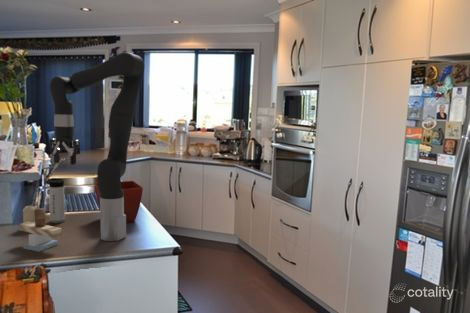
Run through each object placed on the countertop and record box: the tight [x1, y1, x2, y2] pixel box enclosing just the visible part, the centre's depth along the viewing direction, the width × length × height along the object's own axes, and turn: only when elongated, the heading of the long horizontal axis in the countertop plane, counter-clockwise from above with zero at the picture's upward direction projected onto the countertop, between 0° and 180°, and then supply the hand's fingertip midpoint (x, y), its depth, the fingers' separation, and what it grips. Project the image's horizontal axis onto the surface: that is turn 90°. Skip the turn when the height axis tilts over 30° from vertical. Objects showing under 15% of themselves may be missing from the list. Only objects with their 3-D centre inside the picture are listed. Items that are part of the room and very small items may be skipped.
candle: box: [22, 204, 38, 223], centre depth 173 cm, size 6×6×10 cm
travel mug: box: [48, 177, 66, 224], centre depth 183 cm, size 6×7×20 cm
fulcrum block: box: [22, 233, 59, 253], centre depth 151 cm, size 8×9×6 cm
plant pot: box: [93, 180, 144, 223], centre depth 189 cm, size 19×19×17 cm
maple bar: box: [19, 207, 62, 239], centre depth 150 cm, size 18×4×9 cm, turn 65°
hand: (65, 163), depth 167 cm, fingers open, 8 cm apart
